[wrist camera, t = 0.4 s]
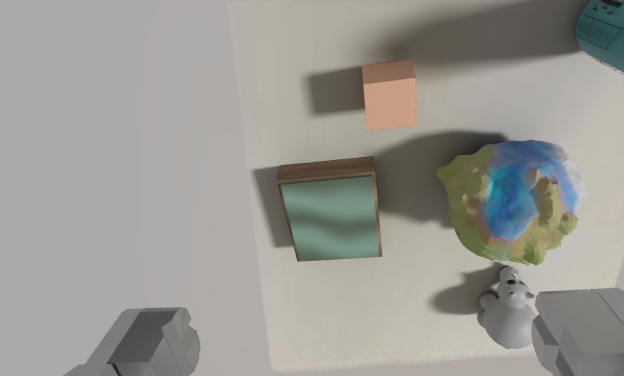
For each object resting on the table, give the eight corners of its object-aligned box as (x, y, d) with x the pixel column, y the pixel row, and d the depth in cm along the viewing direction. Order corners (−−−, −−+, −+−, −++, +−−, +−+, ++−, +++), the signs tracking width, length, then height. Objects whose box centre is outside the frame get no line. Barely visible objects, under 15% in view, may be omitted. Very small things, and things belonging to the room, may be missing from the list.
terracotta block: (361, 65, 42) (363, 84, 37) (407, 59, 41) (416, 77, 36) (365, 108, 45) (367, 131, 40) (408, 103, 44) (416, 125, 39)
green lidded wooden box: (281, 165, 50) (276, 182, 47) (373, 156, 48) (375, 173, 45) (300, 244, 58) (297, 263, 54) (380, 239, 56) (382, 258, 52)
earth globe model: (643, 228, 32) (463, 211, 33) (551, 299, 45) (422, 285, 46) (590, 118, 41) (448, 107, 42) (525, 204, 53) (417, 194, 54)
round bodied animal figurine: (527, 257, 59) (558, 282, 51) (515, 327, 62) (544, 361, 53) (479, 255, 59) (503, 279, 51) (470, 324, 62) (491, 358, 54)
